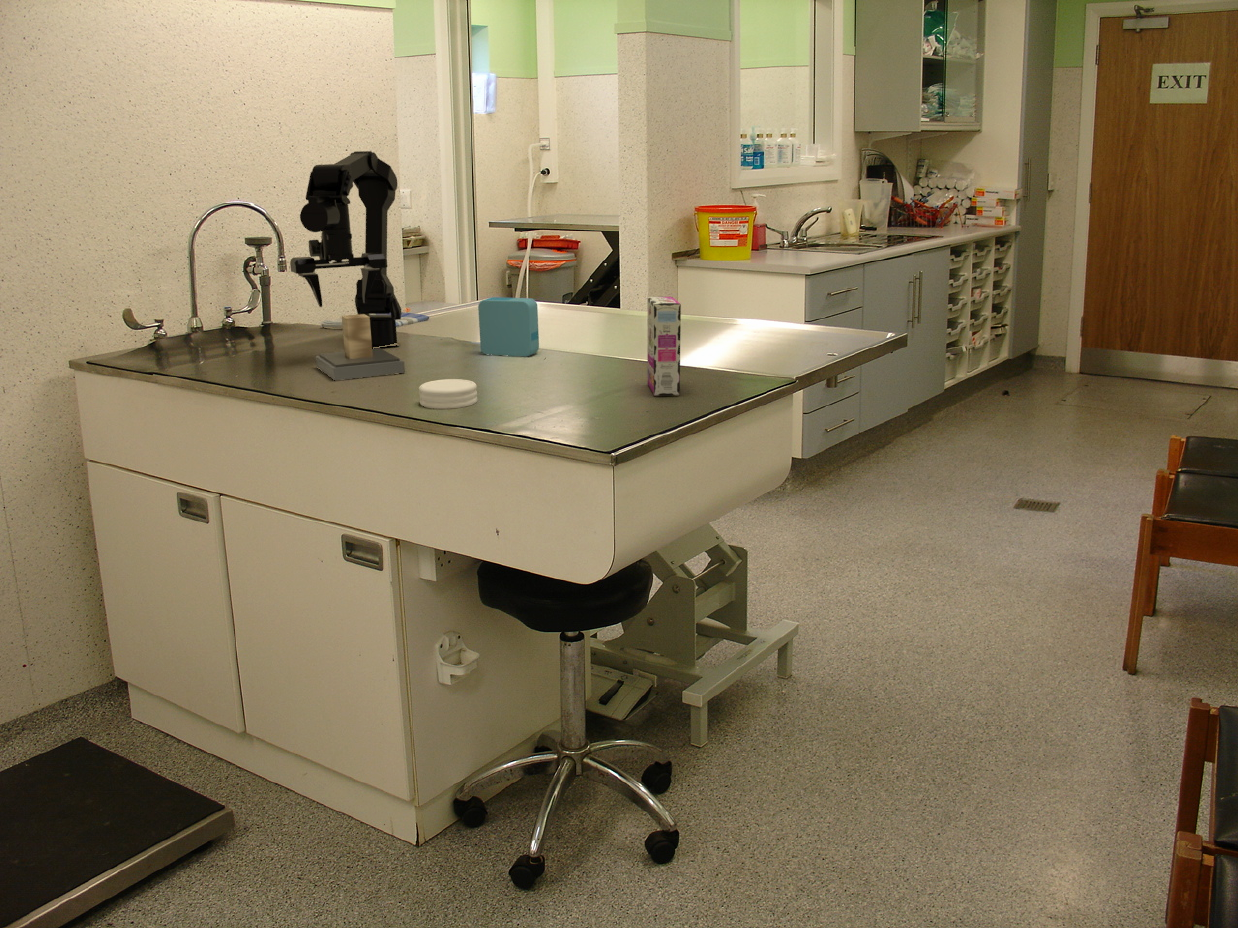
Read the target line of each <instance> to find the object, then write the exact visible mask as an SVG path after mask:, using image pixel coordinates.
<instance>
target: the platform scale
mask: <svg viewBox="0 0 1238 928" xmlns="http://www.w3.org/2000/svg"><path fill="white" fill-rule="evenodd" d="M372 354H373V357H364V358H354V359H350V358H348V357H347V356H345V350H344V351H343V350H342V351H335V352H334V351H333V352H324V353H323V352H322V353H319V354H318V355H315V367H316V366H317V367H318V368H320V369H321V370H322V371H323V372H325V373H326V374H327V375H329V376H330V377H331V378H332V379H333V380H332V379H331V378H330V379H331V380H332V381H334V380H341V379H350V380H353V379H352V378H359V379H362V378H361V377H369V378H371V377H370V376H378V377H380V376H379V375H386V374H395V373H405V374H406V371H405V369H406V368H405V361H404V360H403V359H401V358H399V357H398V356H395V355H394V354H392V353H390V352H388V351H386V350H385V349H383V348H374V349H372ZM323 372H322V373H323ZM327 375H326V376H327ZM341 381H342V380H341Z"/></svg>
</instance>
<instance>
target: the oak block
mask: <svg viewBox="0 0 1238 928" xmlns="http://www.w3.org/2000/svg"><path fill="white" fill-rule="evenodd" d="M341 318H342V326H343V330H342V335H343V336H342V337H343V347H344V351H345V356H347V357H348V358H350V359H354V358H364V357H373V354H372V341H371V329H370V317H369V316H367V315H364V314H361V315H358V314H352V315H349V314H348V315H341Z"/></svg>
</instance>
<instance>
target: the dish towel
mask: <svg viewBox="0 0 1238 928" xmlns="http://www.w3.org/2000/svg"><path fill="white" fill-rule="evenodd" d="M401 313H402V314H401V319H398V320H396V328H399V327H403V326H407V325H408V326H409V325H412V324H417V323H422V322H427V321H428V320H429V319H430V316H429V315H426V314H421V313H420V314H419V313H414V312H413V313H412V312H402V311H401ZM369 315H391V313H389V314H369ZM320 326H322V327H343V326H342V317H340V318H338V319H337V318H336V319H333V320H329V319H324V320H323V321H321V322H320Z"/></svg>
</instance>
